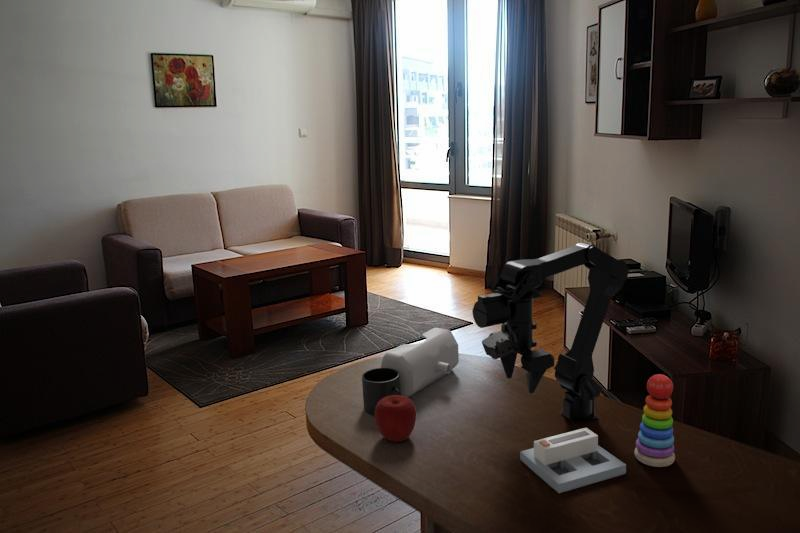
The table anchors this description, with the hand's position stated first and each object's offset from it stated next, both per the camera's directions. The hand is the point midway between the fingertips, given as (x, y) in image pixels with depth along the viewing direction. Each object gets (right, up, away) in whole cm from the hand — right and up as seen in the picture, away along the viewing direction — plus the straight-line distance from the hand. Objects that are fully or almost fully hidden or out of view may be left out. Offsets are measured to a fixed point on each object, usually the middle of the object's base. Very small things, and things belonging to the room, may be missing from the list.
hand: (519, 385), depth 152 cm
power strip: (+8, -14, -10) cm, 19 cm away
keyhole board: (+9, -15, -12) cm, 21 cm away
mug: (-30, -10, +19) cm, 37 cm away
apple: (-28, -13, +4) cm, 31 cm away
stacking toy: (+26, -14, -10) cm, 31 cm away
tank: (-20, -6, +33) cm, 39 cm away
